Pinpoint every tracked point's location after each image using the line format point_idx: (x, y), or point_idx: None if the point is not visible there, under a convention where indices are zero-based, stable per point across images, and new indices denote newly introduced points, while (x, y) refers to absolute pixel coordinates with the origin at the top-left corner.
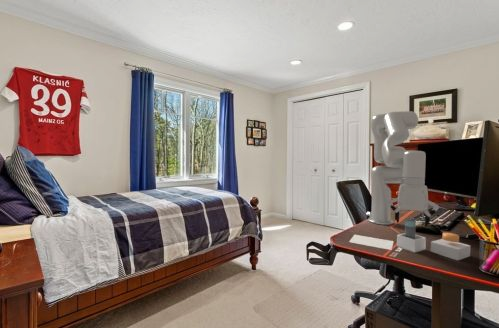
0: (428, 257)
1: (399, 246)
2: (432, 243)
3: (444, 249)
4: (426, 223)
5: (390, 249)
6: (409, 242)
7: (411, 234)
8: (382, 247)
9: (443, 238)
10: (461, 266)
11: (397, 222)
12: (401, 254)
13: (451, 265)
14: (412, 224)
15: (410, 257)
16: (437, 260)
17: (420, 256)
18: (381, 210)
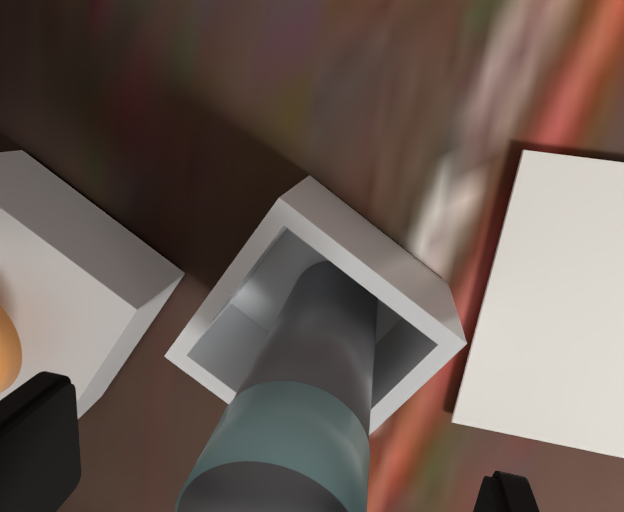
0: (211, 129)
1: (426, 271)
2: (132, 294)
3: (60, 222)
4: (15, 402)
5: (532, 163)
6: (341, 229)
7: (301, 324)
8: (612, 189)
9: (3, 327)
10: (5, 30)
11: (507, 473)
12: (435, 90)
13: (65, 11)
14: (252, 410)
15: (362, 40)
16: (152, 85)
17: (271, 121)
18: None
